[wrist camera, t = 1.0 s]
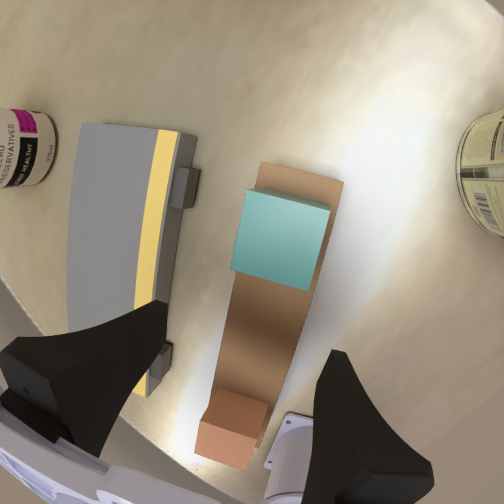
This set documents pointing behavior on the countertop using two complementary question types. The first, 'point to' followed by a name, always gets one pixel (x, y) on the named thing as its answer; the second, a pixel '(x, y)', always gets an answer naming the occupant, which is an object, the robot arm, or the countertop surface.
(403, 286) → the countertop surface
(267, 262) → the teal crate
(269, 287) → the brown long bar
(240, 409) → the terracotta brick
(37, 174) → the supplement can
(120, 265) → the dock
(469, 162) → the coffee can
